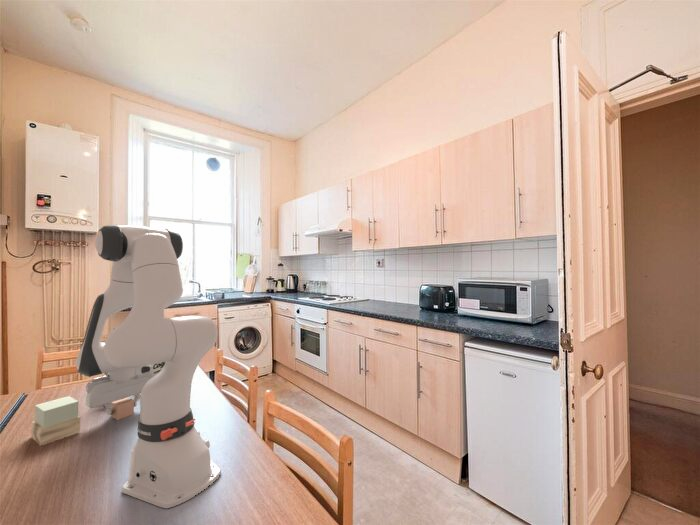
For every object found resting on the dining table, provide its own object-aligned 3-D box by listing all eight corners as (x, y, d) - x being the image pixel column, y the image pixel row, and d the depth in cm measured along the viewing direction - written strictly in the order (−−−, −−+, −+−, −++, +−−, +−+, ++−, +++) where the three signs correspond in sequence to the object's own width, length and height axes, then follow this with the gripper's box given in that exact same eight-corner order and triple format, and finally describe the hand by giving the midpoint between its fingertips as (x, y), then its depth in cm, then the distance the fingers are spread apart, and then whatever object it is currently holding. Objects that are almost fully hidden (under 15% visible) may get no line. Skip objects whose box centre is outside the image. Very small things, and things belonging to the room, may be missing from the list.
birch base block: (79, 433, 96) (80, 417, 96) (40, 447, 89) (40, 429, 89) (69, 425, 101) (69, 410, 101) (31, 438, 93) (31, 421, 93)
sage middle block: (78, 417, 96) (78, 401, 97) (43, 428, 90) (43, 411, 90) (68, 411, 100) (69, 395, 101) (34, 421, 94) (35, 405, 94)
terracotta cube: (133, 414, 108) (133, 400, 109) (117, 420, 104) (117, 405, 104) (127, 410, 111) (127, 397, 111) (110, 416, 107) (111, 402, 107)
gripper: (90, 382, 97) (89, 425, 97) (157, 365, 115) (157, 402, 115) (82, 378, 101) (81, 420, 100) (149, 362, 118) (148, 398, 118)
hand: (122, 410), depth 108 cm, fingers open, 5 cm apart
